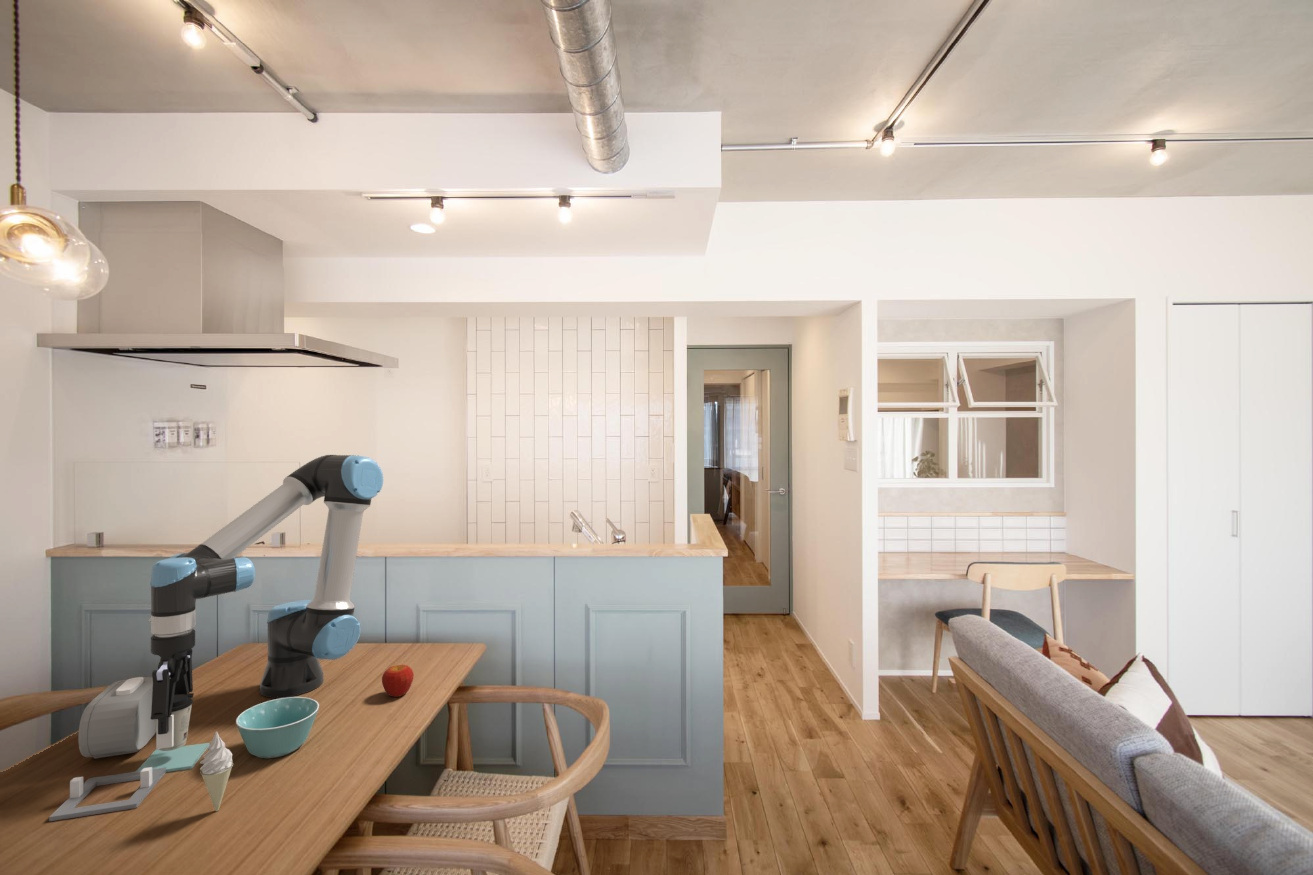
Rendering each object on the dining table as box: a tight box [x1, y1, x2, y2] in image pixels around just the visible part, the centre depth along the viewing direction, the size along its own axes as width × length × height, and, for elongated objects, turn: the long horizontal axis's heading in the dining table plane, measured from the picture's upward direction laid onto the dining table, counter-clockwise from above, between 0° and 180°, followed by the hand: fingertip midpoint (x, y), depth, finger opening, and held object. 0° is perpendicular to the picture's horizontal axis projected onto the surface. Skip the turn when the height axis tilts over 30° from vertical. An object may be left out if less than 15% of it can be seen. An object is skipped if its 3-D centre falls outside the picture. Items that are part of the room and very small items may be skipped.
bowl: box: [235, 696, 320, 759], centre depth 137 cm, size 16×16×8 cm
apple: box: [381, 664, 415, 698], centre depth 165 cm, size 8×8×8 cm
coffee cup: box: [155, 694, 194, 751], centre depth 131 cm, size 7×7×10 cm
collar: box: [48, 767, 167, 822], centre depth 119 cm, size 13×13×4 cm
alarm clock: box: [77, 676, 156, 759], centre depth 138 cm, size 21×10×13 cm, turn 22°
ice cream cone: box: [199, 730, 234, 812], centre depth 114 cm, size 5×5×15 cm
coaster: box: [135, 742, 210, 773], centre depth 131 cm, size 10×10×1 cm
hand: (172, 738), depth 131 cm, fingers closed on coffee cup, 7 cm apart
